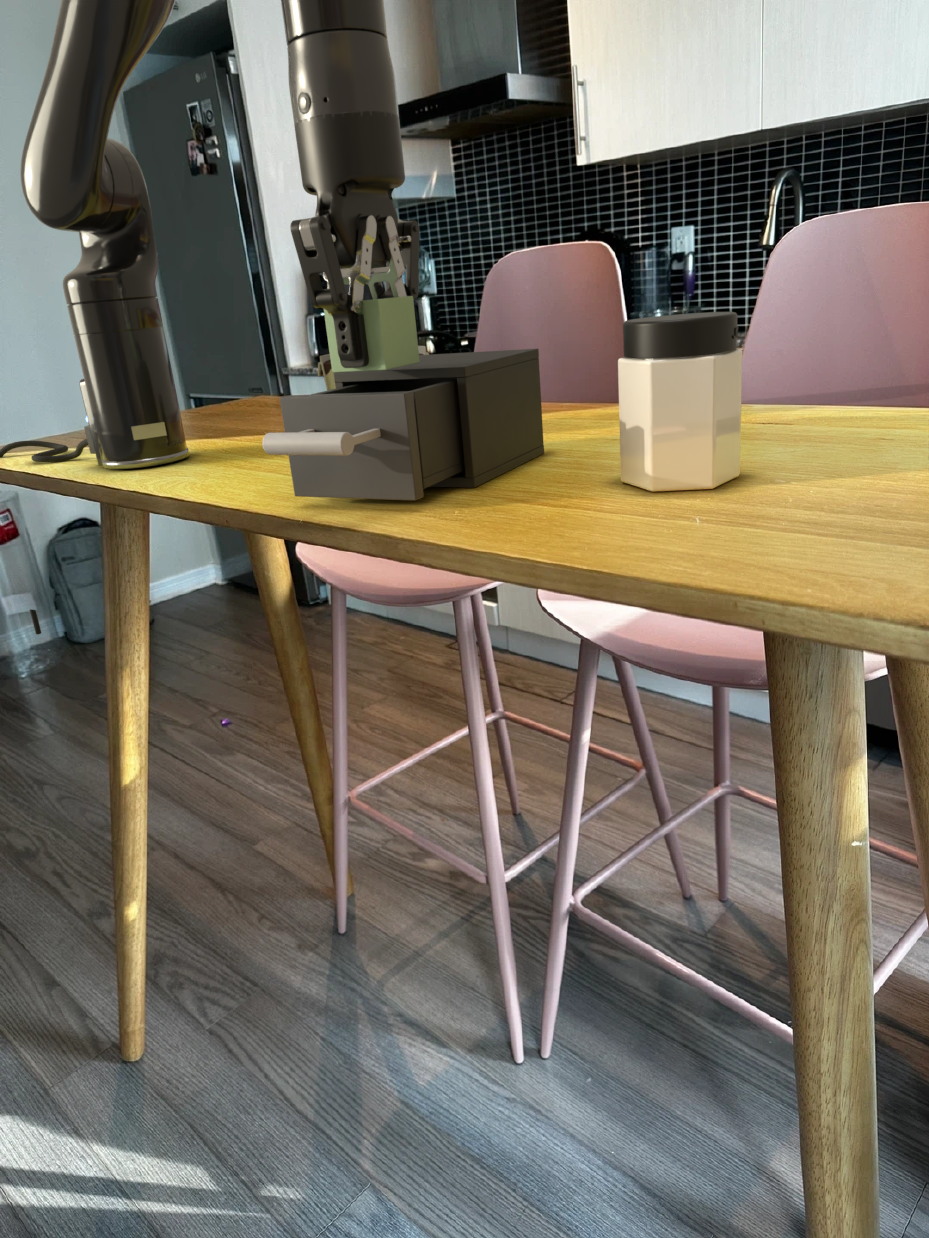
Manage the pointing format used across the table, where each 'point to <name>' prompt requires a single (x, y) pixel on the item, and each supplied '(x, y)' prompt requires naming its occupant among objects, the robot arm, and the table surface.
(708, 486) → the jar
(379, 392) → the pulled-out drawer
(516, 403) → the grey drawer unit
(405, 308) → the block
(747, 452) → the table surface
